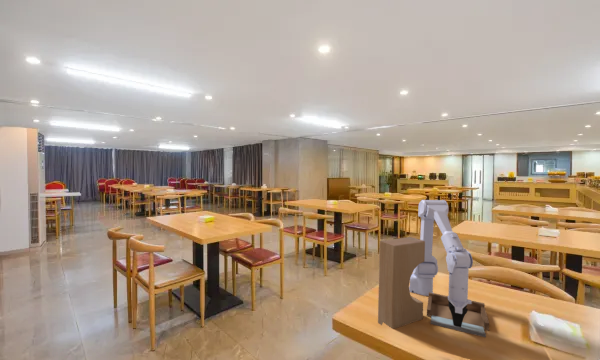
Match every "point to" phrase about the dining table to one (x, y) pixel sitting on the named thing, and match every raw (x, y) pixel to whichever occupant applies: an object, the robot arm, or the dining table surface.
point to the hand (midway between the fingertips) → (457, 324)
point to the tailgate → (464, 327)
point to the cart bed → (441, 309)
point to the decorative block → (399, 281)
